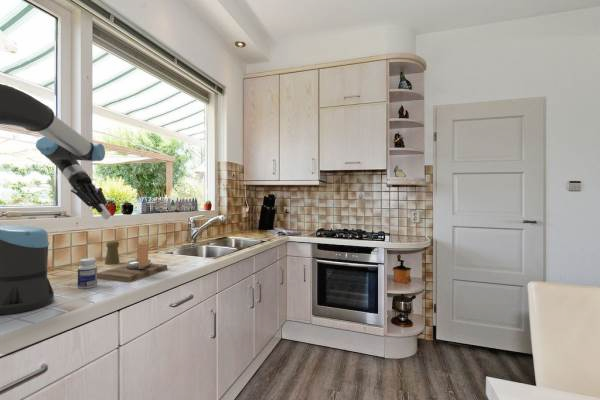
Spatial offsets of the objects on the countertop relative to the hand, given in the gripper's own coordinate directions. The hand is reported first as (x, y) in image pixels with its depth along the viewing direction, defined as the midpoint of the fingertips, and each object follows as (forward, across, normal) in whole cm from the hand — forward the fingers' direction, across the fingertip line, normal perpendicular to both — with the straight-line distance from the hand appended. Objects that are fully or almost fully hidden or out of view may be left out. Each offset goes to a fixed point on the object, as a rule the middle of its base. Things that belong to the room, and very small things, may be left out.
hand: (107, 217), depth 123 cm
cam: (+23, -6, -8) cm, 25 cm away
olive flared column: (+7, -16, -27) cm, 32 cm away
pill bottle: (+24, +16, -11) cm, 30 cm away
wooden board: (+24, -4, -10) cm, 26 cm away
